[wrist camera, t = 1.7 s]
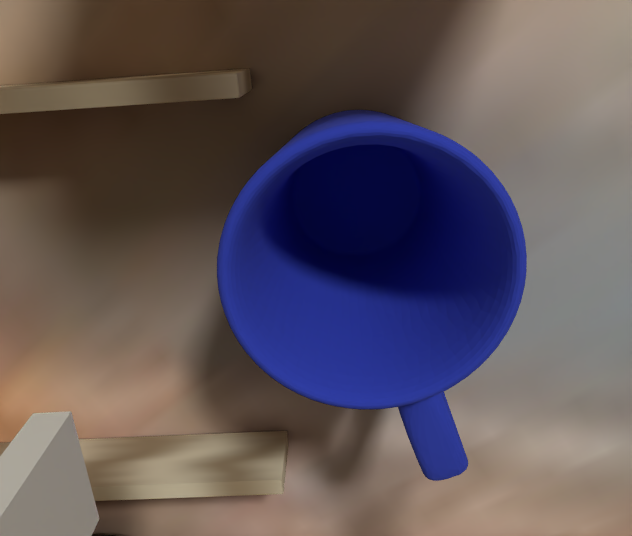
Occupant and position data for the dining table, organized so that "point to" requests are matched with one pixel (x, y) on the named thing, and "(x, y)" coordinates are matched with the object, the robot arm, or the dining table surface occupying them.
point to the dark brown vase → (101, 535)
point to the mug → (374, 271)
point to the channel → (177, 450)
